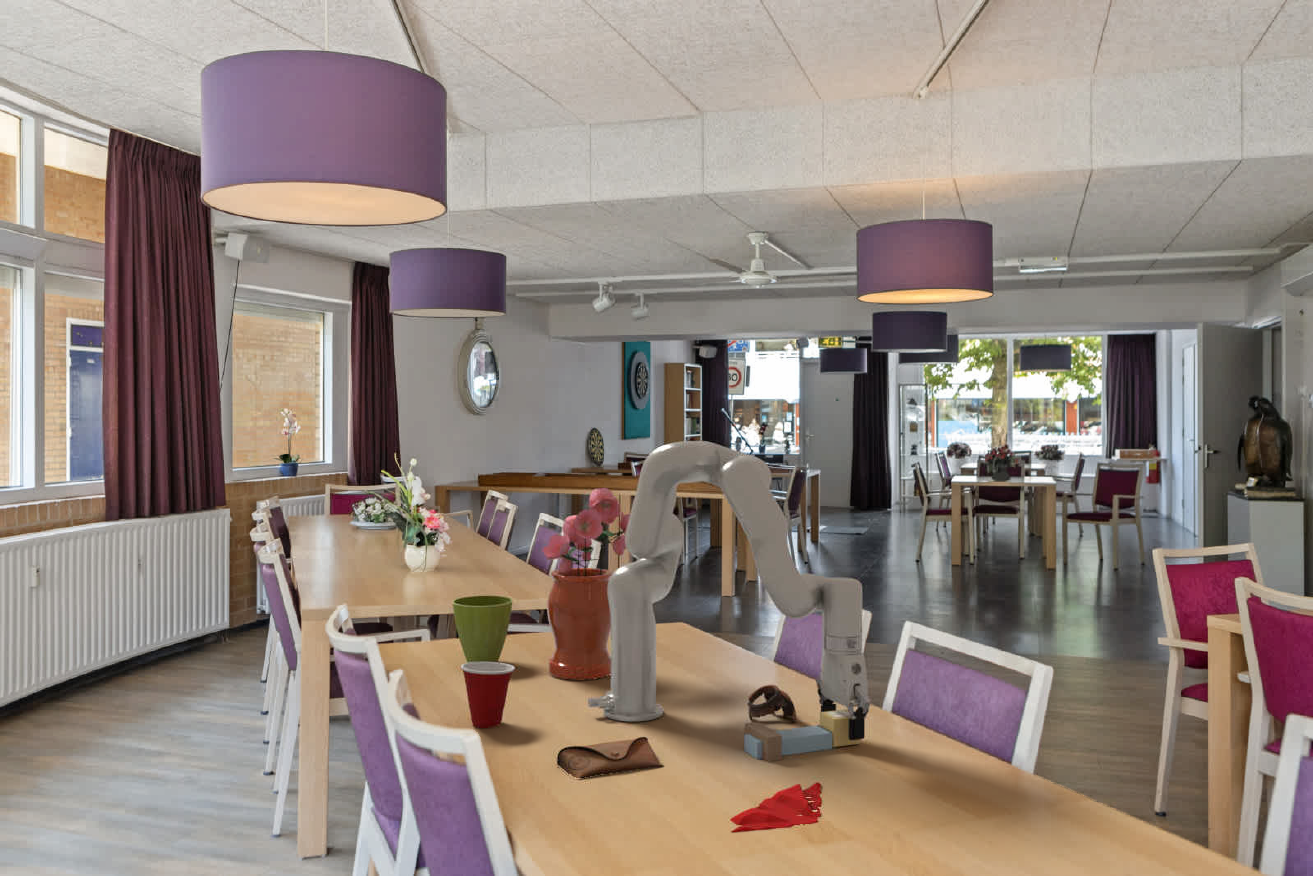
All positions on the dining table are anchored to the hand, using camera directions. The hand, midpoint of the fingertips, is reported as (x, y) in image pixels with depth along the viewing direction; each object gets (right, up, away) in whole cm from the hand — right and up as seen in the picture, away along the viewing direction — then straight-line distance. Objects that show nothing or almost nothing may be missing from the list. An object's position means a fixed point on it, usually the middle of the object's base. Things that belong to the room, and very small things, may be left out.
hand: (842, 732), depth 193 cm
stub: (0, -2, 0) cm, 2 cm away
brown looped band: (-12, -2, +15) cm, 19 cm away
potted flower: (-52, -1, +52) cm, 74 cm away
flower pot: (-80, -1, +60) cm, 100 cm away
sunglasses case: (-44, -3, -14) cm, 46 cm away
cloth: (-16, -4, -34) cm, 37 cm away
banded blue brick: (-11, -2, -4) cm, 12 cm away
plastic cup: (-70, -2, +10) cm, 71 cm away
